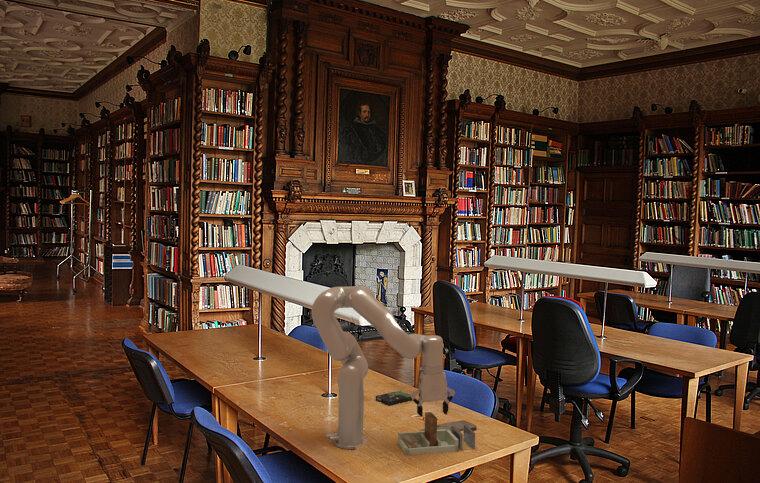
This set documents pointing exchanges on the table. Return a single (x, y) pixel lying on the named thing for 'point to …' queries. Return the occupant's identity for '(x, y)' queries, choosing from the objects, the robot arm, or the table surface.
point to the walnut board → (431, 428)
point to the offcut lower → (409, 445)
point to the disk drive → (393, 398)
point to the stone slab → (457, 424)
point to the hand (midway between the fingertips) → (432, 414)
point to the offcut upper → (410, 440)
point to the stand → (468, 436)
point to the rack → (444, 442)
